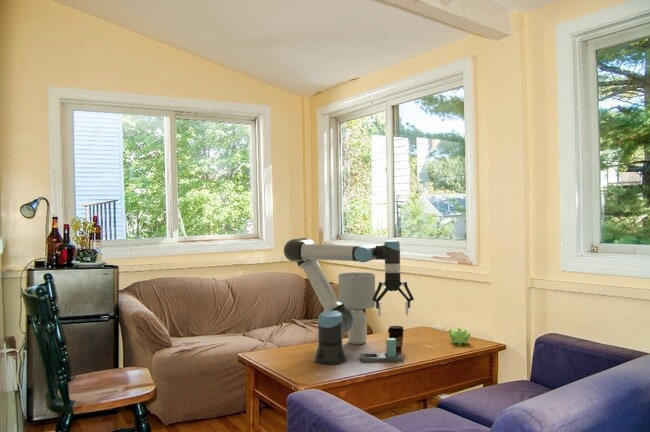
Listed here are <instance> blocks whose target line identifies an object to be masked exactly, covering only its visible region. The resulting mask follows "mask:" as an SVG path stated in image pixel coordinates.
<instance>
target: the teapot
mask: <svg viewBox="0 0 650 432" xmlns="http://www.w3.org/2000/svg"><path fill="white" fill-rule="evenodd" d="M448 332H449V335H448V336H449V337H450V338H449V339H450V341H451V342H452V343H453V344H454V345H455V344H458V346H462V345H466V344H467V342H468V341H469V338H470V337H471V334H470V333H467V330H466V329H462V328H461V327H457V329H454V330H453V331H452V329H449V330H448Z"/></svg>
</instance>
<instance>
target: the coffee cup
mask: <svg viewBox="0 0 650 432" xmlns="http://www.w3.org/2000/svg"><path fill="white" fill-rule="evenodd" d="M404 331H405V329H404V327H403V326H402V325H389V327H388V329H387V332H388V338H395V339H396V353H400V354H401V353H402V351H403V350H402V348H403V345H404V344H403V343H404V342H403V340H404Z"/></svg>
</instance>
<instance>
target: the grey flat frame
mask: <svg viewBox="0 0 650 432" xmlns="http://www.w3.org/2000/svg"><path fill="white" fill-rule="evenodd" d="M359 358H360V361H361V363H397V362H399V363H400V362H402V363H403V362H404V356H403V355H402V354H401V352H400V353H396V357H387V352H377V353H375V352H373V353H372V352H370V353H367V352H365V353H359Z"/></svg>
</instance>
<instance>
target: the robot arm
mask: <svg viewBox="0 0 650 432" xmlns="http://www.w3.org/2000/svg"><path fill="white" fill-rule="evenodd" d="M283 247H284V248H283V254H284V257H285V258H286V259H287V260H288V261H290V262H295V263H296V264H297V266H298V268H301V269H302V270H303V271H304V273H305V275H306V277H307V279H308V281H309V283H310V285H311V286H312V288H313V290H314V293H315V294H316V296H317V298H318V300H319V302H320V304H321V306H322V307H323V310H324V311H322V312H320V313H319V314H318V319H317V324H318V325H317V327H318V329H317V330H318V335H317V337H318V339H317V340H318V344H317V345H318V346H317V348H316V353H315V354H314V355H315V356H314V361H315V363H318V364H320V365H329V366H330V365H333V366H334V365H340V364H344V363H345V362H346V361H347V355H346V351H345V349H344V346H343V335H344V333H348V330H349V329H350V328H351V327H352V326H353V323H354V317H353V314H352V313H351V309H348V308H345V306H344V304H343V303H341V302H339V298H338V297H337V295H336V293H335V291H334V289H333V288H332V286H331V284H330V282H329V280H328V279H327V276H326V275H325V272H324V271H323V269H322V267H321V265H320V263H319V261H320V260H322V261H339V262H340V261H342V262H346V261H347V262H358V263H359V262H360V263H368V262H370V261H374V260H376V261H377V260H382V261H384V271H385V272H384V281H379V282H378V286H377V288H376V289H375V294H374V296H373V298H372V300H373V301H375V308H376V309H377V311H378V312H377V313H378V314H377V315H378V316H379V317H381V300H382V299H383V297H384V296H385V295H386V294H387V292H388V291H389V292H393V291H394V292H396V291H397V292H399V293H400V294H401V295H402V296H403V297H404V298H405V315H406V316H409V309H410V308H411V301H414V296H413V294H412V292H411V290H410V288H409V286H408V282H407V281H405V280H404V281H401V273H400V272H401V245H400V241H399V240H385V241H384V244H369V243H368V244H367V243H366V244H362V245H343V244H342V245H341V244H321V243H320V244H319V243H317V244H315V242H314V241H313V240H312V239H310V238H307V237H300V238H294V239H293V238H292V239H290V240H288V241H287V242H286V243H285V245H284V246H283ZM318 260H319V261H318ZM401 286H403V287H404V289H405V290H406V293H407V294H406V293H405V292H404V291H403V290H402V289H401V288H400V287H401ZM382 287H385V288H383V291H382V292H381V293H380V291H381V289H382ZM379 293H380V294H379ZM378 295H379V296H378Z"/></svg>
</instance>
